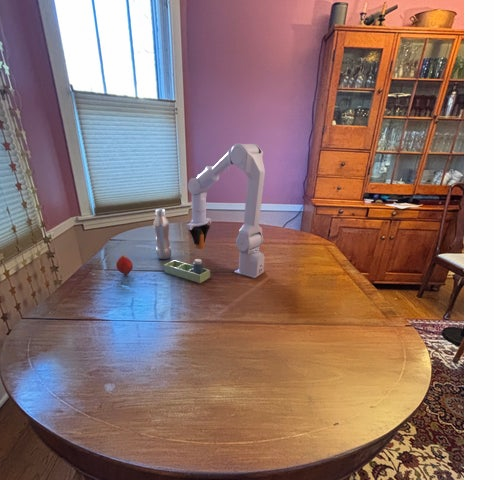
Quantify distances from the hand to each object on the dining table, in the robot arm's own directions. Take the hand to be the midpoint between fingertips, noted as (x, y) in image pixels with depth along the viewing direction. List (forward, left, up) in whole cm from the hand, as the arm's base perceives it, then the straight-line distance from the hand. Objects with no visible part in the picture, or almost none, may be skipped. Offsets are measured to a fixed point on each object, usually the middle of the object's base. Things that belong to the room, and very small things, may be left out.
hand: (199, 243), depth 129 cm
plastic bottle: (+11, +11, -6) cm, 17 cm away
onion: (+10, +33, -6) cm, 35 cm away
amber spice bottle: (0, 0, -2) cm, 2 cm away
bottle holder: (-9, +20, -6) cm, 23 cm away
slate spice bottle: (-15, +20, -6) cm, 25 cm away
